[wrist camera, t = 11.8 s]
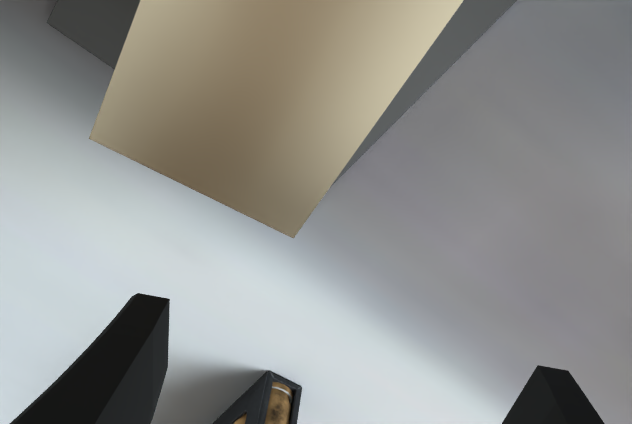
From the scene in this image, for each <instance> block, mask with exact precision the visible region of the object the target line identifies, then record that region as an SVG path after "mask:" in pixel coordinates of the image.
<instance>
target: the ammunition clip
mask: <svg viewBox="0 0 632 424" xmlns="http://www.w3.org/2000/svg"><path fill="white" fill-rule="evenodd" d="M301 392H302V387H300V386H298V385H296V384H294V383H292V382H290V381H288V380H286V379H284V378H282V377H280V376H278V375H276V374H274V373H272V372H270V371H267V372H266V373H265V374H264V375H263V376H262V377H261V378H260V379H259V380H258V381H257V382H256V383H255V384H254V385H252V386H251V387H250V388H249V389H248V390H247V391H246V392H245V393H244V394H243V395H242V396H241V397H240V398H239V399H238V400H237V401H236V402H235V403H234V404H233V405H232V406H230V407H229V408H228V409H227V410H226V411H225V412H224V413H223V414H222V415H221V416H220V417H219V418H218V419H217V420H216V421H215V422H214V423H213V424H297V419H298V412H299V405H300V398H301Z"/></svg>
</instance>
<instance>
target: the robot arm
mask: <svg viewBox="0 0 632 424" xmlns="http://www.w3.org/2000/svg"><path fill="white" fill-rule="evenodd" d="M169 301H170V299H167V298H161V297H156V296H150V295H145V294H139V293H137V294H136V295H134V296H132V297H131V298H130V300H129V301H128V302H127V303H126V305H125V306H124V307H123V308H122V310H121V311H120V312H119V313H118V314H117V316H116V317H115V318H114V319H113V320H112V321H111V323H110V324H109V325H108V326H107V327H106V328H105V329H104V331H103V332H102V333H101V334H100V335H99V336H98V337H97V338H96V339H95V340H94V342H93V343H92V344H91V345H90V346H89V347H88V348H87V349H86V350H85V351H84V352H83V353H82V354H81V355H80V356H79V357H78V358H77V359H76V361H75V362H74V363H73V364H72V365H71V366H70V367H69V368H68V369H67V370H66V371H65V372H64V373H63V374H62V375H61V376H60V377H59V378H58V379H57V380H56V381H55V382H54V383H53V384H52V385H51V386H50V387H49V388H48V389H47V390H46V391H45V392H43V393H42V394H41V395H40V396H39V397H38V398H37V399H36V400H35V401H34V402H33V403H32V404H31V405H29V406H28V407H27V408H26V409H25V410H24V411H23V412H22V413H21V414H20V415H19V416H18V417H17V418H16V419H14V420H13V421H12V422H11V423H10V424H150V423H151V420H152V418H153V415H154V412H155V408H156V405H157V402H158V398H159V395H160V392H161V388H162V385H163V381H164V378H165V375H166V371H167V368H168V336H169ZM502 424H604V422H603V421H602V419H601V418H600V416H599V415H598V413H597V412H596V410H595V409H594V408H593V406H592V405H591V403H590V402H589V400H588V399H587V397H586V396H585V394H584V393H583V391H582V390H581V388H580V387H579V385H578V384H577V383H576V381H575V380H574V378H573V377H572V375H571V374H570V373H569V371H566V370H561V369H555V368H550V367H544V366H539V365H538V366H537V367H536V369H535V371H534V372H533V374H532V375H531V377H530V379H529V380H528V382H527V384H526V385H525V387H524V388H523V390H522V392H521V393H520V395H519V397H518V398H517V400H516V401H515V403H514V405H513V406H512V408H511V410H510V411H509V413H508V414H507V416H506V418H505V419H504V421H503V423H502Z"/></svg>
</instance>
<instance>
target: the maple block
mask: <svg viewBox="0 0 632 424" xmlns="http://www.w3.org/2000/svg"><path fill="white" fill-rule="evenodd" d="M463 1H464V0H140V3H139V6H138V8H137V11H136V14H135V16H134V19H133V22H132V24H131V27H130V30H129V32H128V35H127V38H126V41H125V43H124V46H123V49H122V51H121V54H120V57H119V59H118V62H117V65H116V67H115V70H114V73H113V75H112V78H111V81H110V83H109V86H108V89H107V91H106V94H105V97H104V99H103V102H102V105H101V107H100V110H99V113H98V115H97V118H96V121H95V124H94V126H93V129H92V132H91V134H90V137H89V139H91V140H93V141H95V142H97V143H99V144H101V145H103V146H105V147H107V148H109V149H111V150H113V151H115V152H117V153H119V154H122V155H124V156H126V157H128V158H130V159H132V160H134V161H136V162H138V163H140V164H142V165H144V166H146V167H148V168H150V169H152V170H154V171H156V172H158V173H160V174H163V175H165V176H167V177H169V178H171V179H173V180H175V181H177V182H179V183H181V184H183V185H185V186H187V187H189V188H191V189H193V190H195V191H197V192H199V193H201V194H203V195H206V196H208V197H210V198H212V199H214V200H216V201H218V202H220V203H222V204H224V205H226V206H228V207H230V208H232V209H234V210H236V211H238V212H240V213H242V214H244V215H247V216H249V217H251V218H253V219H255V220H257V221H259V222H261V223H263V224H265V225H267V226H269V227H271V228H273V229H275V230H277V231H279V232H281V233H283V234H285V235H287V236H290V237H292V238H294V237H295V235H296V234H297V233H298V231H299V230H300V228H301V227H302V226H303V224H304V223H305V222H306V220H307V219H308V217H309V216H310V215H311V213H312V212H313V210H314V209H315V208H316V206H317V205H318V203H319V202H320V201H321V199H322V198H323V196H324V195H325V194H326V192H327V191H328V189H329V188H330V187H331V185H332V184H333V182H334V181H335V180H336V178H337V177H338V175H339V174H340V173H341V171H342V170H343V168H344V167H345V166H346V164H347V163H348V161H349V160H350V159H351V157H352V156H353V154H354V153H355V152H356V150H357V149H358V147H359V146H360V145H361V143H362V142H363V140H364V139H365V138H366V136H367V135H368V133H369V132H370V131H371V129H372V128H373V126H374V125H375V124H376V122H377V121H378V119H379V118H380V117H381V115H382V114H383V112H384V111H385V110H386V108H387V107H388V105H389V104H390V103H391V101H392V100H393V98H394V97H395V96H396V94H397V93H398V91H399V90H400V89H401V87H402V86H403V84H404V83H405V82H406V80H407V79H408V78H409V76H410V75H411V73H412V72H413V71H414V69H415V68H416V66H417V65H418V64H419V62H420V61H421V59H422V58H423V57H424V55H425V54H426V52H427V51H428V50H429V48H430V47H431V45H432V44H433V43H434V41H435V40H436V38H437V37H438V36H439V34H440V33H441V31H442V30H443V29H444V27H445V26H446V24H447V23H448V22H449V20H450V19H451V17H452V16H453V15H454V13H455V12H456V10H457V9H458V8H459V6H460V5H461V3H462V2H463Z"/></svg>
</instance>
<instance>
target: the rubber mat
mask: <svg viewBox="0 0 632 424" xmlns="http://www.w3.org/2000/svg"><path fill="white" fill-rule="evenodd" d="M516 1H517V0H464V1H463V2H462V3H461V5H460V6H459V8H458V9H457V10H456V12H455V13H454V15H453V16H452V17H451V19H450V20H449V22H448V23H447V24H446V26H445V27H444V29H443V30H442V31H441V33H440V34H439V36H438V37H437V38H436V40H435V41H434V43H433V44H432V45H431V47H430V48H429V50H428V51H427V52H426V54H425V55H424V57H423V58H422V59H421V61H420V62H419V64H418V65H417V66H416V68H415V69H414V71H413V72H412V73H411V75H410V76H409V78H408V79H407V80H406V82H405V83H404V84H403V86H402V87H401V89H400V90H399V91H398V93H397V94H396V96H395V97H394V98H393V100H392V101H391V103H390V104H389V105H388V107H387V108H386V110H385V111H384V112H383V114H382V115H381V117H380V118H379V119H378V121H377V122H376V124H375V125H374V126H373V128H372V129H371V131H370V132H369V133H368V135H367V136H366V138H365V139H364V140H363V142H362V143H361V145H360V146H359V147H358V149H357V150H356V152H355V153H354V154H353V156H352V157H351V159H350V160H349V161H348V163H347V164H346V166H345V167H344V168H343V170H342V171H341V173H340V174H339V175H338V177H337V178H336V180H335V181H334V182H333V184H334V183H335V182H336V181H337V180H338V179H339V178H340V177H341V176H342V175H343V174H344V173H345V172H346V171H347V170H348V169H349V168H350V167H351V166H352V165H353V164H354V163H355V162H356V161H357V160H358V159H359V158H360V157H361V156H362V155H363V154H364V153H365V152H366V151H367V150H368V149H369V148H370V147H371V146H372V145H373V144H374V143H375V142H376V141H377V140H378V139H379V138H380V137H381V136H382V135H383V134H384V133H385V132H386V131H387V130H388V129H389V128H390V127H391V126H392V125H393V124H394V123H395V122H396V121H397V120H398V119H399V118H400V117H401V116H402V115H403V114H404V113H405V112H406V111H407V110H408V109H409V108H410V107H411V106H412V105H413V104H414V103H415V102H416V101H417V100H418V99H419V98H420V97H421V96H422V95H423V94H424V93H425V92H426V91H427V90H428V89H429V88H430V87H431V86H432V85H433V84H434V83H435V82H436V81H437V80H438V79H439V78H440V77H441V76H442V75H443V74H444V73H445V72H446V71H447V70H448V69H449V68H450V67H451V66H452V65H453V64H454V63H455V62H456V61H457V60H458V59H459V58H460V57H461V56H462V55H463V54H464V53H465V52H466V51H467V50H468V49H469V48H470V47H471V46H472V45H473V44H474V43H475V42H476V41H477V40H478V39H479V38H480V37H481V36H482V35H483V34H484V33H485V32H486V31H487V30H488V29H489V28H490V27H491V26H492V25H493V24H494V23H495V22H496V21H497V20H498V19H499V18H500V17H501V16H502V15H503V14H504V13H505V12H506V11H507V10H508V9H509V8H510V7H511V6H512V5H513V4H514V3H515V2H516ZM139 3H140V0H58V1H57V3H56V5H55V7H54V9H53V11H52V13H51V15H50V17H49V19H48V21H47V23H48V24H49V25H51V26H52V27H54V28H55V29H57V30H58V31H60V32H61V33H62V34H64V35H65V36H67V37H68V38H70V39H71V40H73V41H74V42H76V43H77V44H79V45H80V46H81V47H83V48H84V49H86V50H87V51H89V52H90V53H92V54H93V55H95V56H96V57H98V58H99V59H100V60H102V61H103V62H105V63H106V64H108V65H109V66H111V67H112V68H114V69H115V67H116V65H117V62H118V59H119V57H120V54H121V51H122V49H123V46H124V43H125V41H126V38H127V35H128V32H129V30H130V27H131V24H132V22H133V19H134V16H135V14H136V11H137V8H138V6H139ZM333 184H332V185H333ZM332 185H331V186H332Z"/></svg>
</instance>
